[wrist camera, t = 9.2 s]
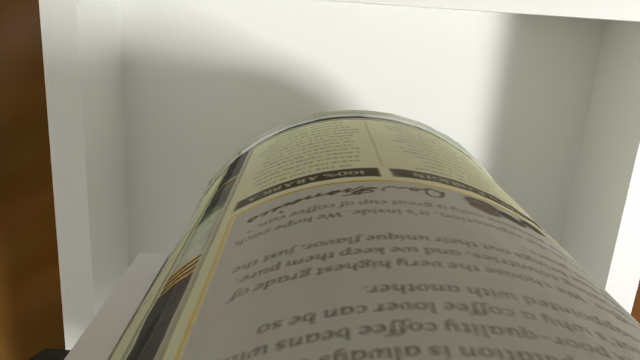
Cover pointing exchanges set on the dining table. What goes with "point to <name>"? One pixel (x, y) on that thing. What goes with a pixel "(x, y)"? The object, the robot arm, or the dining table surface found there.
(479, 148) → the bin
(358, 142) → the coffee can
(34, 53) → the dining table surface
